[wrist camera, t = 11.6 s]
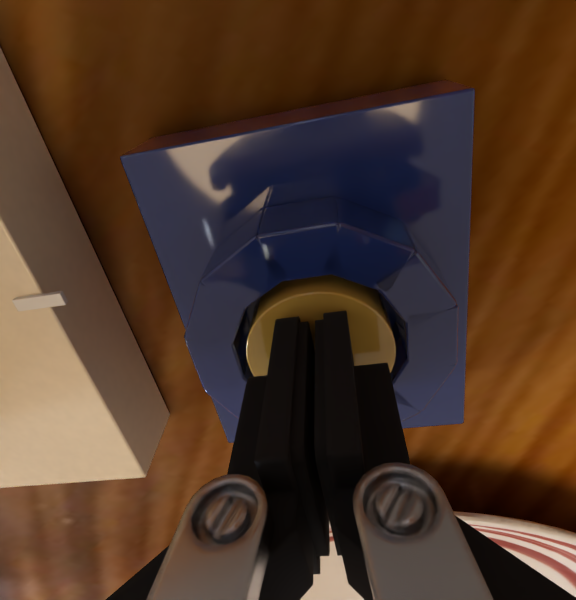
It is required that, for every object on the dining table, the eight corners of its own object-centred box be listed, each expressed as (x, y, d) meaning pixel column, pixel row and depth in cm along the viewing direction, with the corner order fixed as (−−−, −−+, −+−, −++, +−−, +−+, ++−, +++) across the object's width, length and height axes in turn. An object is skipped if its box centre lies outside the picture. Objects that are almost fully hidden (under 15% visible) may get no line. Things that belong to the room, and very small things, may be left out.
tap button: (240, 268, 11) (228, 303, 10) (380, 247, 11) (392, 282, 9) (269, 372, 13) (263, 416, 11) (390, 359, 12) (400, 404, 11)
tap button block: (149, 137, 12) (82, 178, 8) (448, 78, 11) (509, 98, 7) (238, 398, 17) (218, 489, 13) (446, 377, 16) (482, 472, 12)
